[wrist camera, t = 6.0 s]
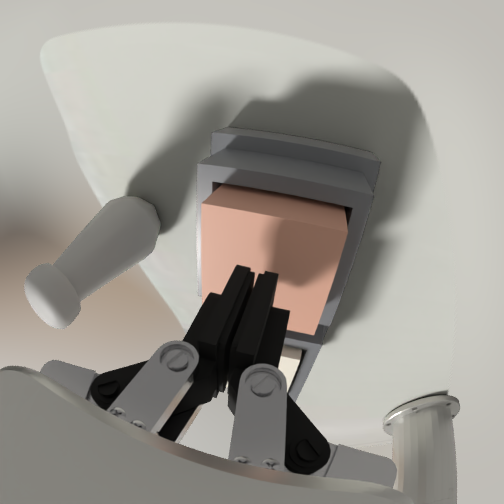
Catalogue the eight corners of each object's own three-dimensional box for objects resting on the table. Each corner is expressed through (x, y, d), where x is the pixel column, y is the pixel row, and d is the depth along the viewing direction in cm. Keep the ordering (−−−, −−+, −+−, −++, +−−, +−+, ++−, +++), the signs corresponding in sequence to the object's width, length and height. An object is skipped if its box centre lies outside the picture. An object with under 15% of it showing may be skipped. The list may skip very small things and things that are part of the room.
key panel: (311, 350, 27) (302, 408, 21) (218, 328, 29) (194, 380, 23) (372, 152, 16) (397, 182, 11) (227, 127, 18) (180, 143, 12)
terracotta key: (318, 292, 17) (313, 335, 14) (223, 271, 17) (202, 308, 15) (343, 200, 13) (348, 232, 10) (227, 179, 14) (201, 203, 11)
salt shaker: (156, 181, 22) (34, 268, 11) (178, 242, 24) (87, 350, 13) (109, 195, 23) (3, 271, 13) (131, 248, 26) (44, 337, 15)
